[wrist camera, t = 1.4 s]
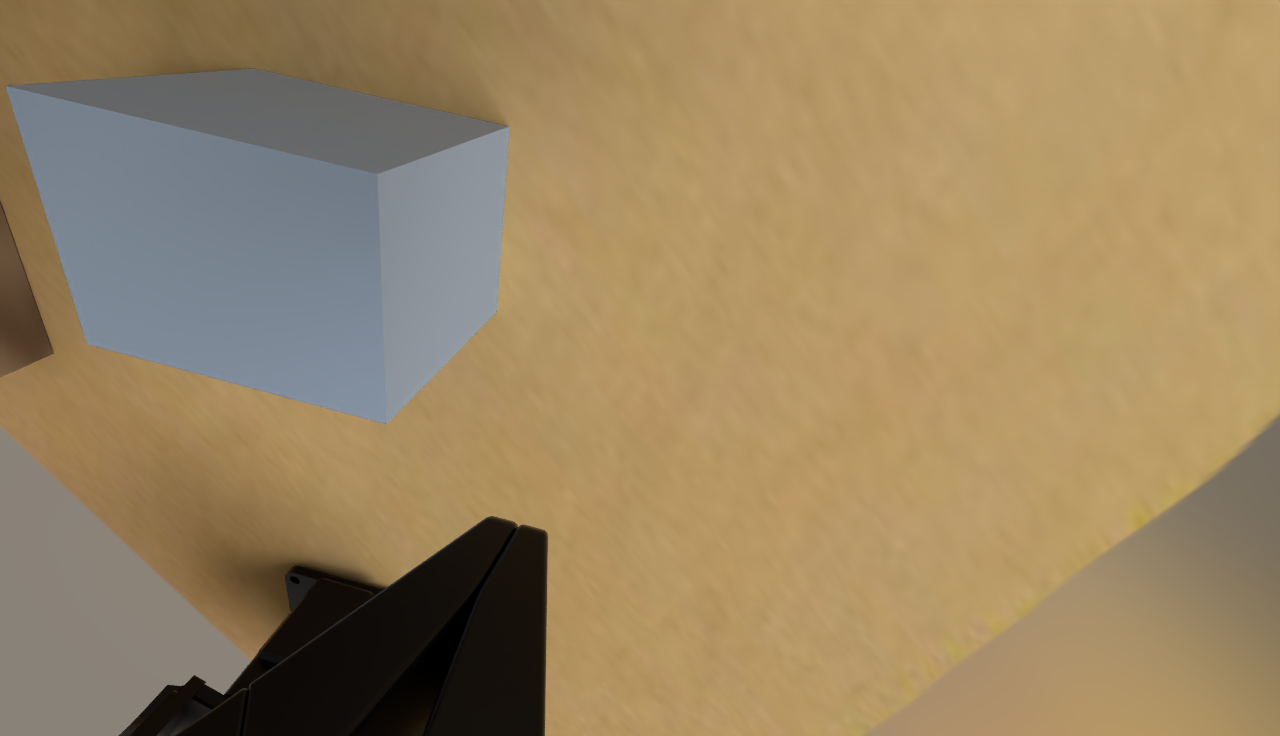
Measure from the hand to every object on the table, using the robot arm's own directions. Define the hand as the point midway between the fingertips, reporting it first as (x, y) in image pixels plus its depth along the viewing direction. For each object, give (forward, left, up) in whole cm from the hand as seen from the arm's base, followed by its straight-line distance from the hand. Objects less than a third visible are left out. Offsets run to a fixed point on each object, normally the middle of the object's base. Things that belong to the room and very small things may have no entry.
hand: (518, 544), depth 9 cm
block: (0, +9, -12) cm, 15 cm away
